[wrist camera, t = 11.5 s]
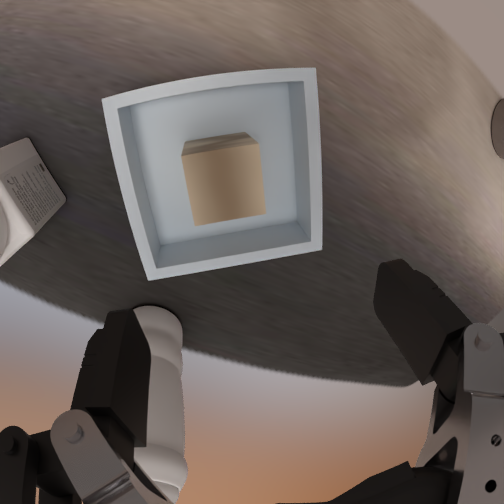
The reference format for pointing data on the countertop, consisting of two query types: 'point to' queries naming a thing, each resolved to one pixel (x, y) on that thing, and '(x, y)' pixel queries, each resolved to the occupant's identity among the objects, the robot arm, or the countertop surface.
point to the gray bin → (209, 125)
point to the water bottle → (164, 402)
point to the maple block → (223, 178)
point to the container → (24, 196)
